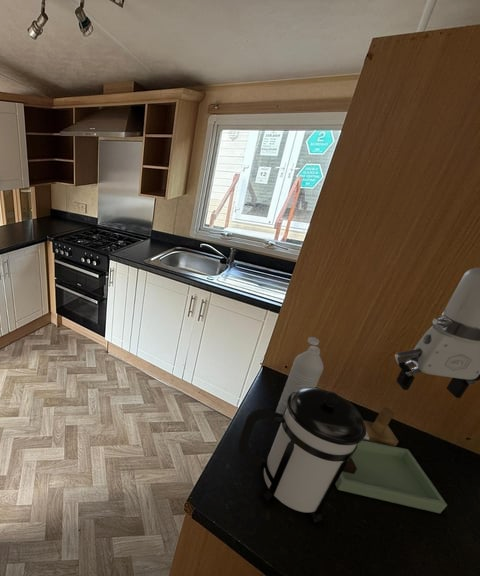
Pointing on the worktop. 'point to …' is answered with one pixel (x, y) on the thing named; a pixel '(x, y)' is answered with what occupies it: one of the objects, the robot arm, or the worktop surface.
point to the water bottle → (302, 373)
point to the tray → (390, 477)
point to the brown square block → (350, 467)
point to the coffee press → (307, 448)
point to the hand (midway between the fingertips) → (426, 389)
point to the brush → (381, 429)
